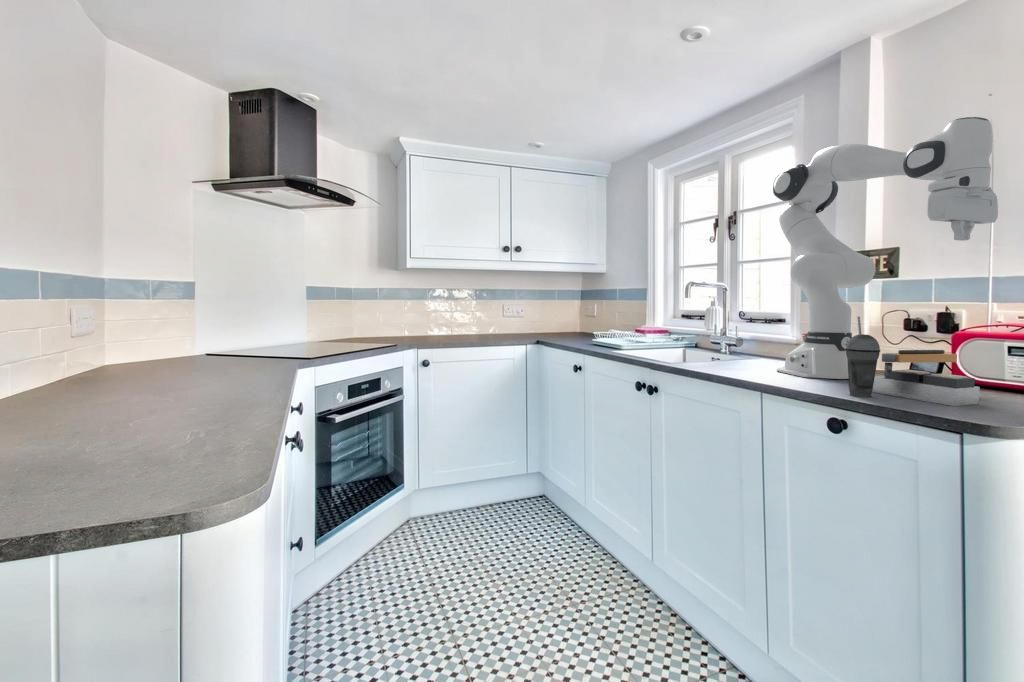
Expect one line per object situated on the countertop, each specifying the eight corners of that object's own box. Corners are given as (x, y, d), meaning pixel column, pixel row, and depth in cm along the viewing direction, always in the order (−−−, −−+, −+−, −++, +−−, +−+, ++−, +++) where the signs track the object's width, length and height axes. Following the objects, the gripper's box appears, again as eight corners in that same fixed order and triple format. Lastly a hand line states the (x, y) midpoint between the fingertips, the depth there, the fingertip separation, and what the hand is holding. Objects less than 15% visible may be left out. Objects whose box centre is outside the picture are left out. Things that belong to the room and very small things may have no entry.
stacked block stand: (868, 391, 132) (869, 362, 131) (890, 389, 134) (891, 361, 134) (954, 406, 113) (956, 372, 112) (978, 404, 115) (980, 371, 115)
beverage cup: (876, 399, 120) (880, 317, 119) (840, 395, 125) (844, 316, 124) (879, 395, 126) (884, 316, 124) (845, 392, 131) (849, 315, 129)
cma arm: (890, 362, 128) (891, 351, 128) (876, 360, 133) (877, 349, 132) (956, 362, 130) (957, 350, 129) (940, 360, 134) (941, 349, 134)
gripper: (978, 189, 130) (974, 243, 131) (923, 184, 124) (919, 240, 125) (1008, 184, 124) (1004, 240, 125) (952, 178, 118) (948, 237, 119)
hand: (961, 240), depth 125 cm, fingers closed
